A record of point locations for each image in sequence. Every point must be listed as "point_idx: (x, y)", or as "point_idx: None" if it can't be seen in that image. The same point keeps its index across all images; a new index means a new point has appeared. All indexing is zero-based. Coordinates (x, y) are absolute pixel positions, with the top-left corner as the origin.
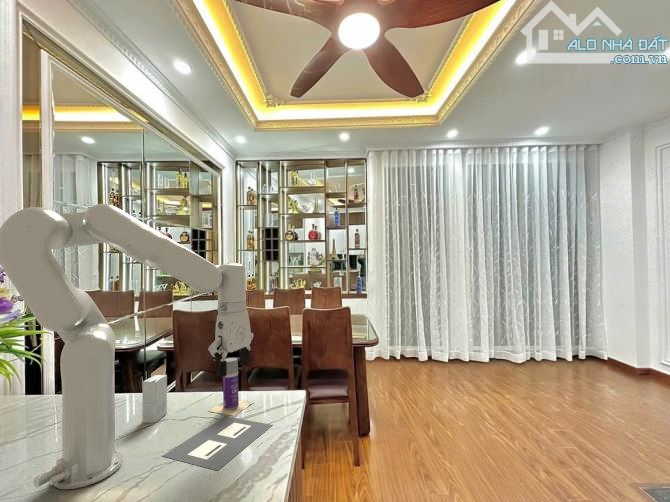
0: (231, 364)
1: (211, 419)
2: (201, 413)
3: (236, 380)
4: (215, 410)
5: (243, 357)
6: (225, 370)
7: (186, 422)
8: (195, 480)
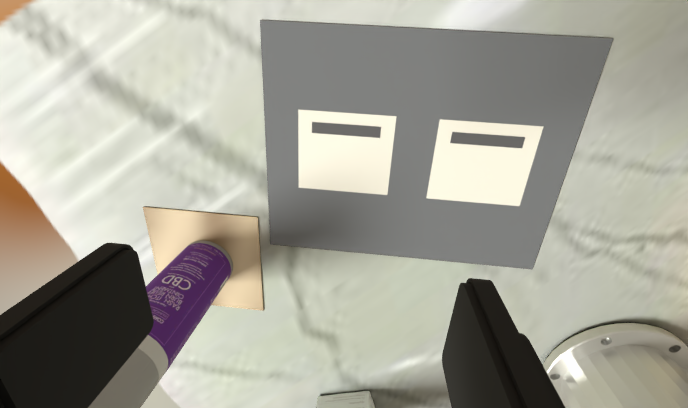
0: (99, 398)
1: (303, 270)
2: (281, 319)
3: None
4: (250, 292)
5: (89, 347)
6: (507, 317)
7: (343, 323)
8: (667, 81)
